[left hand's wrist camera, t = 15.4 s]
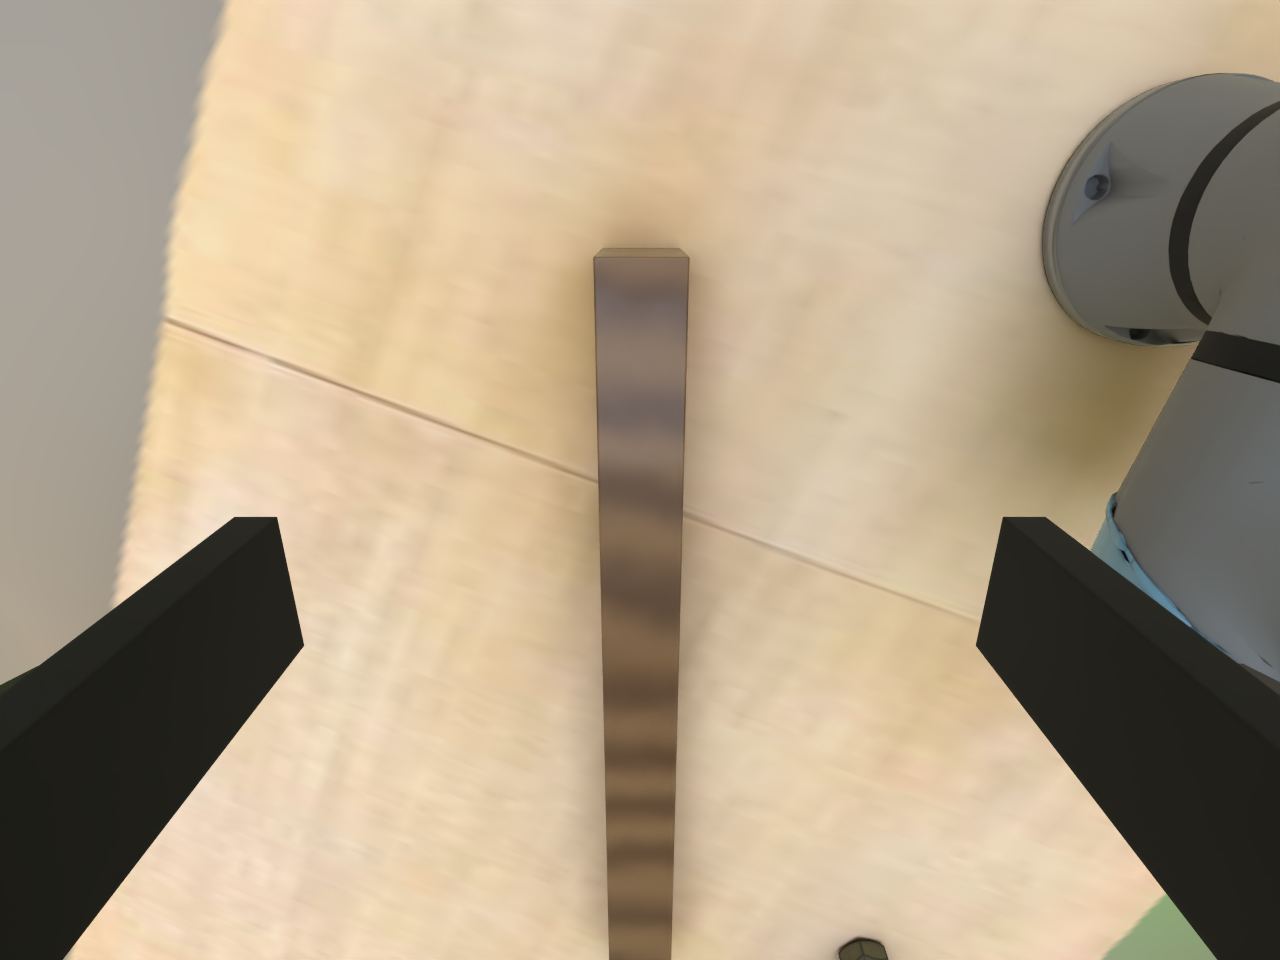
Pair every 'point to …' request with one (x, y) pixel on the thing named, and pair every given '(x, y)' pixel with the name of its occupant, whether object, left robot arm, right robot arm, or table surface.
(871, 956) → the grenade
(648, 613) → the bar
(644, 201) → the table surface
